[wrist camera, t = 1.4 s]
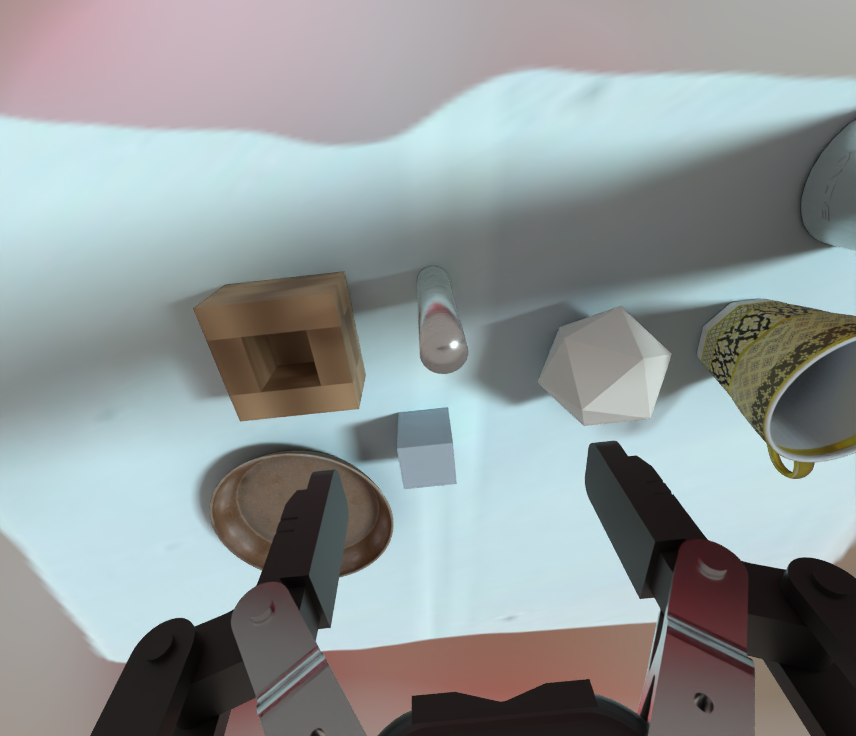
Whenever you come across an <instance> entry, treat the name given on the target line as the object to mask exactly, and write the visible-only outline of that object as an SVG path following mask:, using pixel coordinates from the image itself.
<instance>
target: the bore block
mask: <svg viewBox="0 0 856 736" xmlns="http://www.w3.org/2000/svg"><path fill="white" fill-rule="evenodd" d="M193 309H194V312H195V314H196V316H197V319H198V321H199V324H200V326H201V328H202V331H203V333H204V336H205V338H206V341H207V343H208V345H209V348H210V350H211V353H212V355H213V357H214V360H215V362H216V365H217V367H218V369H219V372H220V374H221V377H222V379H223V382H224V384H225V386H226V389H227V391H228V394H229V396H230V398H231V401H232V403H233V406H234V408H235V411H236V413H237V415H238V418H239V420H240V421H248V420H258V419H267V418H277V417H286V416H296V415H305V414H315V413H325V412H334V411H344V410H353V409H359V406H360V401H361V396H362V391H363V386H364V381H365V376H366V374H365V369H364V365H363V360H362V355H361V350H360V345H359V340H358V336H357V331H356V326H355V321H354V316H353V311H352V307H351V302H350V297H349V292H348V287H347V282H346V278H345V273H344V272H336V273H327V274H318V275H309V276H300V277H291V278H282V279H273V280H264V281H255V282H246V283H237V284H228V285H224V286H223V287H222V288H220V289H219V290H218V291H216V292H215V293H214V294H212V295H211V296H210V297H208V298H207V299H205V300H204V301H203V302H201V303H200V304H199V305H197V306H196V307H195V308H193Z"/></svg>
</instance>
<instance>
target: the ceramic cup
mask: <svg viewBox="0 0 856 736" xmlns="http://www.w3.org/2000/svg"><path fill="white" fill-rule="evenodd" d="M697 357H698V358H699V360H700V361H701V362H702V363H703V365H704V366H705V367H706V368H707V369H708V370H709V371H710V372H711V374H712V375H713V376H714V377H715V378H716V380H717V381H718V382H719V383H720V384H721V386H722V387H723V388H724V389H725V390H726V391H727V393H728V394H729V395H730V396H731V398H732V400H733V401H734V403H735V404H736V406H737V407H738V409H739V410H740V412H741V413H742V414H743V416H744V417H745V418H746V419H747V421H748V422H749V423H750V424H751V426H752V427H753V428H754V429H755V431H756V432H757V433H758V434H759V435H760V436H761V438H762V439H763V440H764V441H765V442H766V443H767V447H768V452H769V455H770V459H771V461H772V463H773V465H774V466H775V468H776V469H777V470H778V471H779V472H780V473H781V474H782V475H784V476H786V477H788V478H792V479H800V478H803V477H805V476H807V475H808V474H809V473H810V472H811V471H812V469H813V467H814V463H815V462H822V461H829V460H834V459H838V458H841V457H845V456H848V455H851V454H854V453H856V316H853V315H845V314H837V313H830V312H826V311H822V310H818V309H813V308H808V307H803V306H798V305H792V304H787V303H783V302H779V301H773V300H768V299H754V300H746V301H738V302H732V303H730V304H729V305H727V306H726V307H725V308H724V309H723V310H722V311H720V312H719V313H718V314H717V315H716V316H715V317H713V318H712V319H711V320H710V321H709V322H707V323H706V324H705V325H704V326H703V328H702V333H701V337H700V341H699V345H698V349H697ZM779 455H780V456H782V457H784V458H787V459H790V460H793V461H794V469H793V472H791V471H789V470H788V469H787V468H786V467H785V466H784V464H783V463H782V461H781V459H780V456H779Z"/></svg>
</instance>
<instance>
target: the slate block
mask: <svg viewBox="0 0 856 736" xmlns="http://www.w3.org/2000/svg"><path fill="white" fill-rule="evenodd" d="M397 452H398V458H399V463H400V469H401V475H402V480H403V486H404V489H409V488H419V487H429V486H439V485H449V484H456V473H455V461H454V450H453V441H452V433H451V426H450V419H449V412H448V407H447V408H437V409H428V410H418V411H408V412H399V415H398V435H397Z"/></svg>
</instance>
